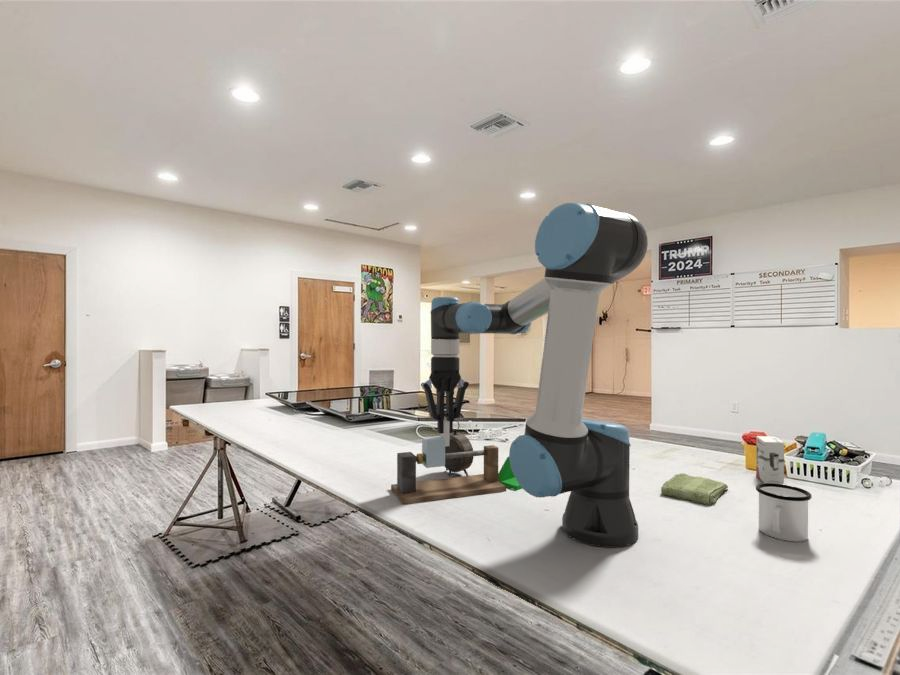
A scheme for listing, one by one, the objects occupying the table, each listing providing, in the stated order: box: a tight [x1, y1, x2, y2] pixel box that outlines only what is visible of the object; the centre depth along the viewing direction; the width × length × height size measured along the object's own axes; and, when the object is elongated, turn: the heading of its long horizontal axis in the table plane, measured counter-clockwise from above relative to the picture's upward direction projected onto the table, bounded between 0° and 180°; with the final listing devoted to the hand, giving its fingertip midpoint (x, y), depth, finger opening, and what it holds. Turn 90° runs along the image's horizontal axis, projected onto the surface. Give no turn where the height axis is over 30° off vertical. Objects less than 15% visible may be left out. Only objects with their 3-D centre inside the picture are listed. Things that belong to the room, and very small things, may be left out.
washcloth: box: [660, 472, 729, 506], centre depth 124 cm, size 13×18×3 cm
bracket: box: [498, 456, 523, 491], centre depth 131 cm, size 12×8×7 cm, turn 133°
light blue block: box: [421, 435, 445, 469], centre depth 123 cm, size 5×4×7 cm
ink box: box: [755, 435, 785, 485], centre depth 134 cm, size 9×5×12 cm, turn 161°
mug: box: [755, 482, 812, 543], centre depth 96 cm, size 12×10×9 cm
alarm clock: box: [443, 419, 475, 477], centre depth 138 cm, size 11×5×16 cm, turn 45°
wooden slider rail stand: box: [390, 444, 507, 505], centre depth 124 cm, size 28×12×10 cm, turn 111°
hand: (445, 445), depth 124 cm, fingers closed
